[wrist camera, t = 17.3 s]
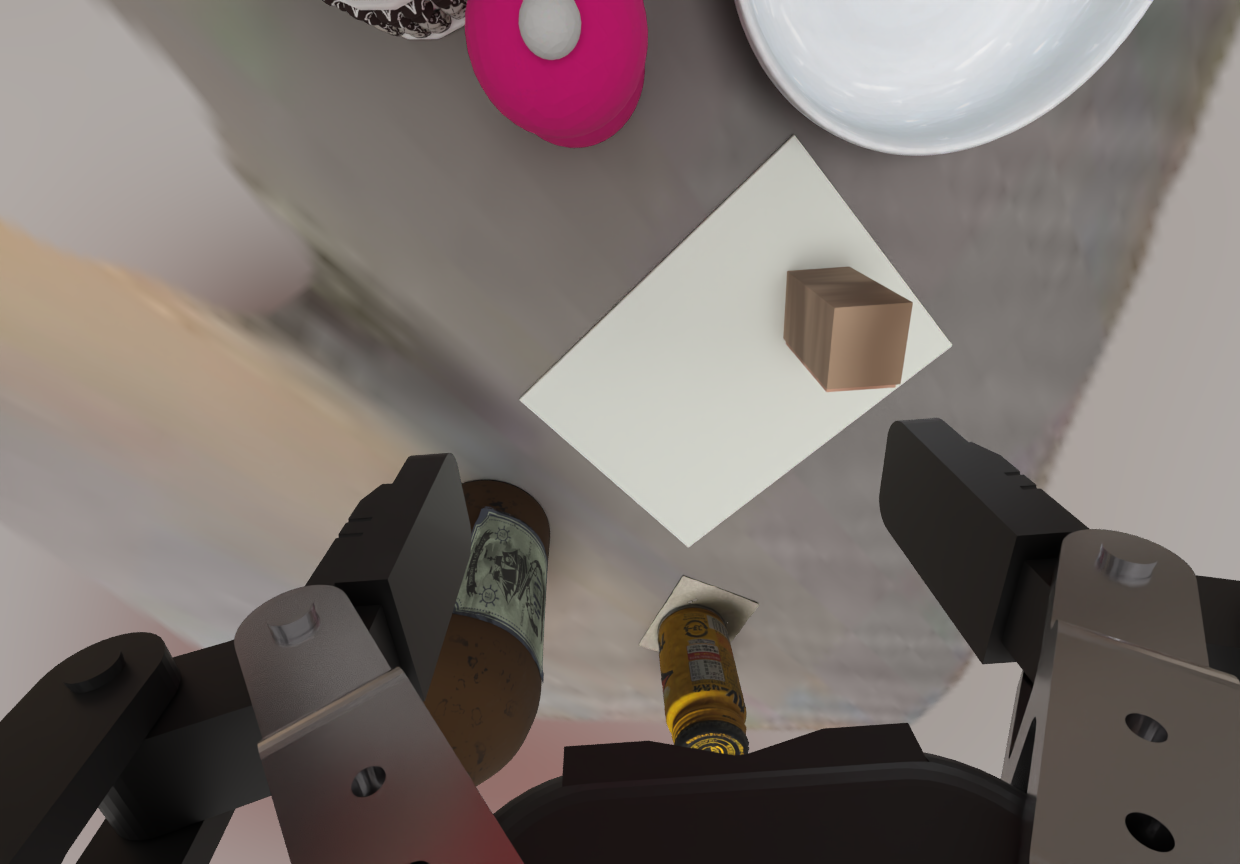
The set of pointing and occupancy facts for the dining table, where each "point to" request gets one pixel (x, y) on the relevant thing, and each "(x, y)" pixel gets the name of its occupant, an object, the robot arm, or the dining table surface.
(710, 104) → the dining table surface
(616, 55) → the pepper mill
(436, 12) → the decorative candle
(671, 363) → the rubber mat
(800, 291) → the walnut block
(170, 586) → the dining table surface
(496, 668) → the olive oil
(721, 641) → the condiment
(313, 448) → the dining table surface
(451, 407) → the dining table surface
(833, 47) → the serving bowl
